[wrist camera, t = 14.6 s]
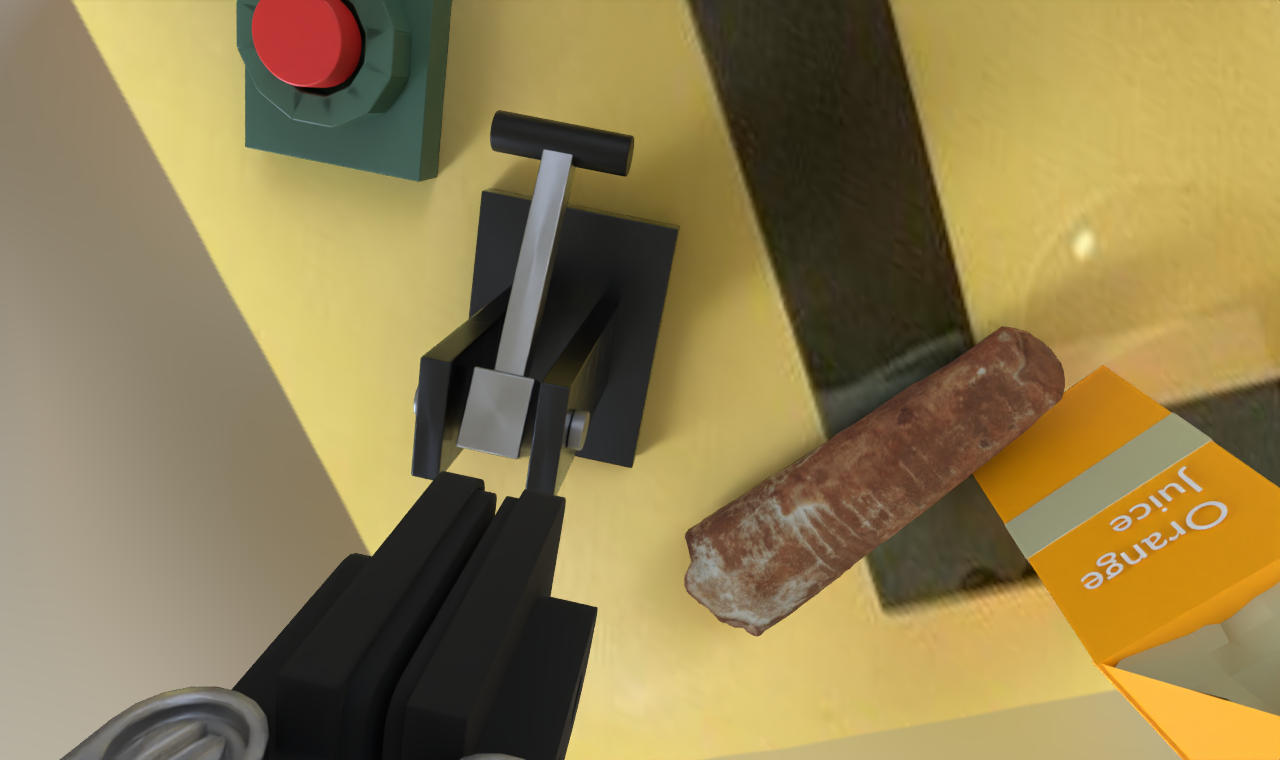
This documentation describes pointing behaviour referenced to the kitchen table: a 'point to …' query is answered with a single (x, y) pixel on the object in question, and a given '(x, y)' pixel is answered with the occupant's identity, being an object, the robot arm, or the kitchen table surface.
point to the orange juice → (1154, 561)
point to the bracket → (557, 338)
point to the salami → (867, 482)
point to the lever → (532, 275)
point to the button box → (359, 94)
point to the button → (307, 41)
